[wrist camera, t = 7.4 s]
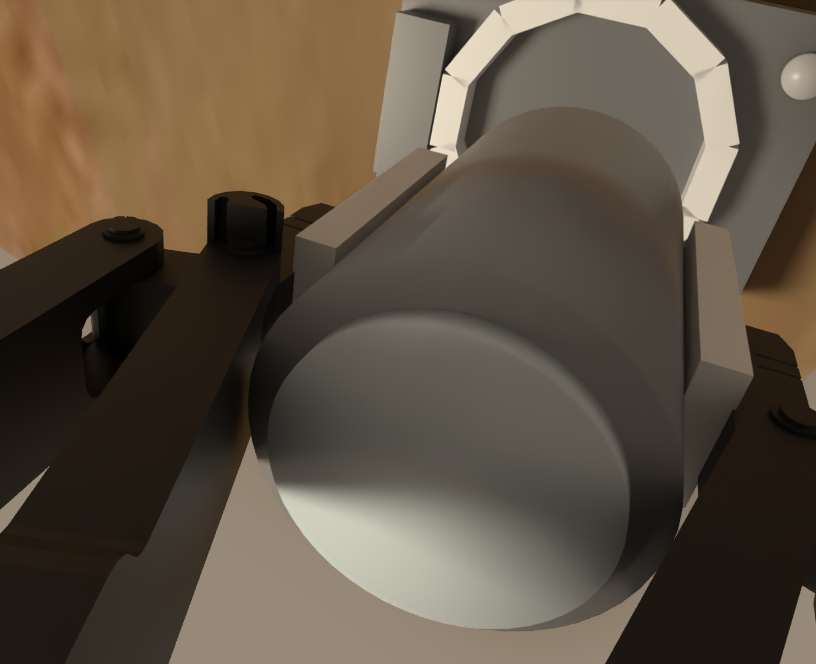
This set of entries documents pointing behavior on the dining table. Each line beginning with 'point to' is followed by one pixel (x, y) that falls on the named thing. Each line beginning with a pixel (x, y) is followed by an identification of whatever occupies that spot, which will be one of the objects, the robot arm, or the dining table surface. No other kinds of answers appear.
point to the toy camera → (622, 90)
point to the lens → (493, 383)
